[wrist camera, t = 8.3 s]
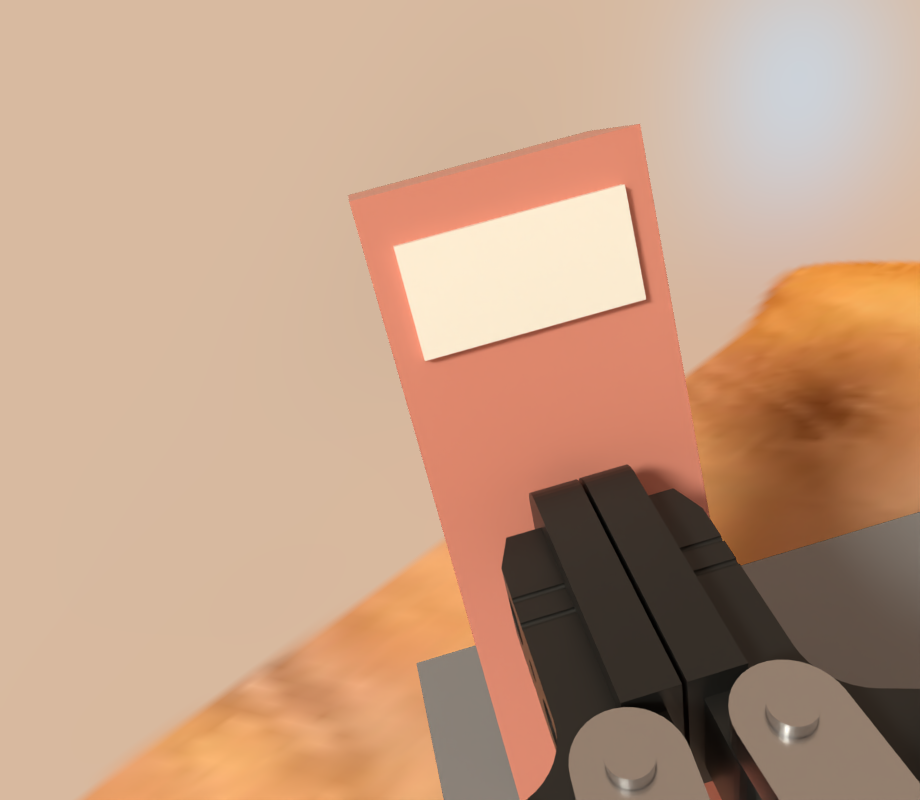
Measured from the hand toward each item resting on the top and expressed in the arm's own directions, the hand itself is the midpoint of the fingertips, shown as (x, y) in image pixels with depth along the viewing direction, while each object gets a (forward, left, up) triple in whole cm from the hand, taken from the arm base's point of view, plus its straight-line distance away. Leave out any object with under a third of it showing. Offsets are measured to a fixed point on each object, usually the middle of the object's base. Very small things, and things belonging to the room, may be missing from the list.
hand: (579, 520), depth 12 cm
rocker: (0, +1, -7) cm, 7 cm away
